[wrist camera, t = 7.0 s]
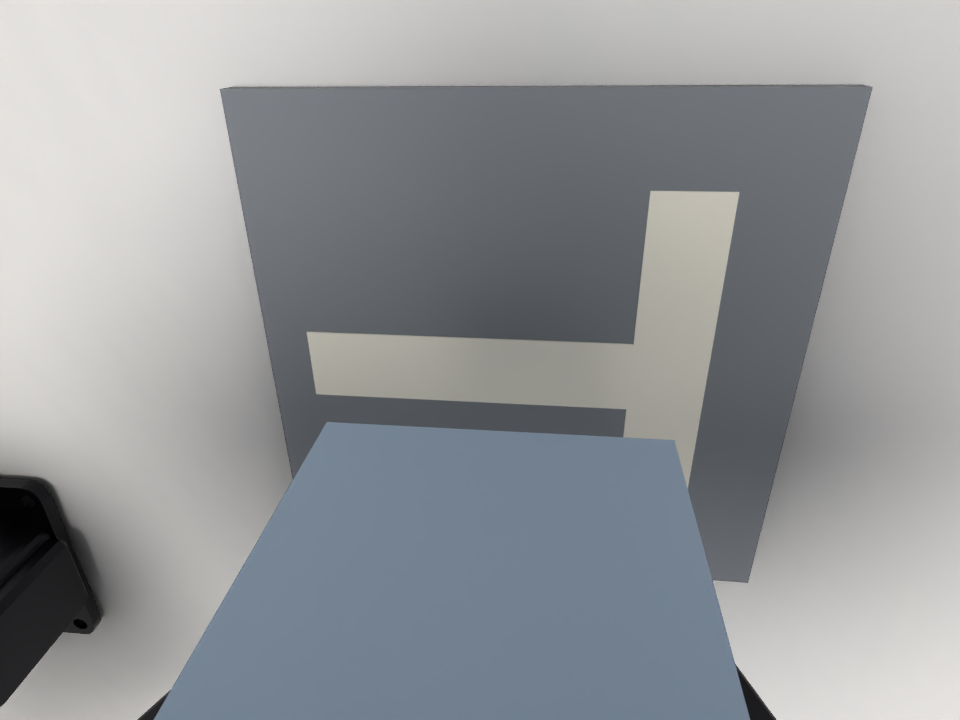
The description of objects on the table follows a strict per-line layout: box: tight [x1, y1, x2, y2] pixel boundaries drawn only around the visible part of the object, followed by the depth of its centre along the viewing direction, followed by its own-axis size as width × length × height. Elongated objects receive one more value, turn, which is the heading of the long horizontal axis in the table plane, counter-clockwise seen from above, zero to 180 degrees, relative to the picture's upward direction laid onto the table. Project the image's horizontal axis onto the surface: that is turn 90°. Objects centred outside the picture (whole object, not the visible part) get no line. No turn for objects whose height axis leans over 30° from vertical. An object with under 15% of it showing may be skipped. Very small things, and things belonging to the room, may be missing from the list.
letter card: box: [220, 85, 872, 583], centre depth 16 cm, size 13×13×1 cm
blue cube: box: [154, 422, 750, 720], centre depth 8 cm, size 5×5×5 cm
